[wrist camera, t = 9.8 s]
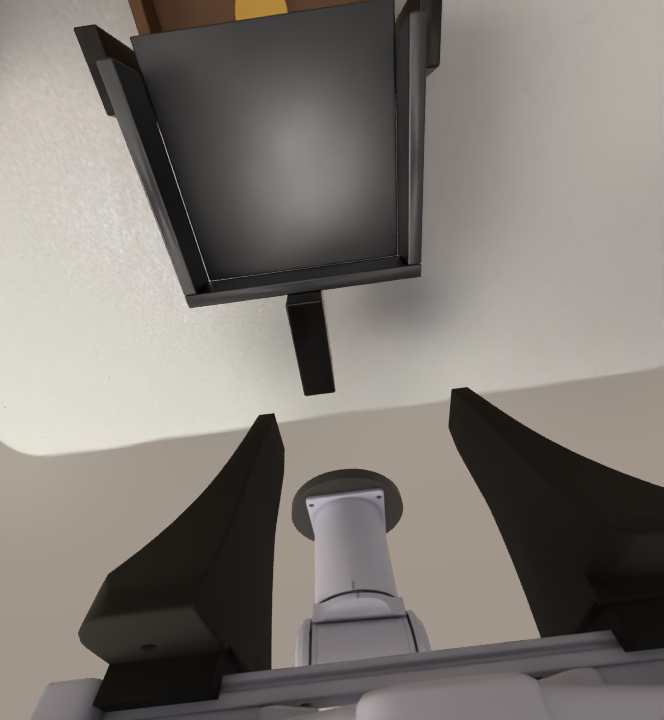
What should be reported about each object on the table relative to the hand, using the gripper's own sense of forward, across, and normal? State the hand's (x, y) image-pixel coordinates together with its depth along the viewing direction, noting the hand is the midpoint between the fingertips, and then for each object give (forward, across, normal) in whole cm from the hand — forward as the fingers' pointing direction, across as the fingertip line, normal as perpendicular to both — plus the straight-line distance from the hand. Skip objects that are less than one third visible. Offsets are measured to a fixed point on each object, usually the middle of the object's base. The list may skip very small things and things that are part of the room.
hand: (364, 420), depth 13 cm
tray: (+10, +2, -32) cm, 33 cm away
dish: (+7, +2, -6) cm, 10 cm away
